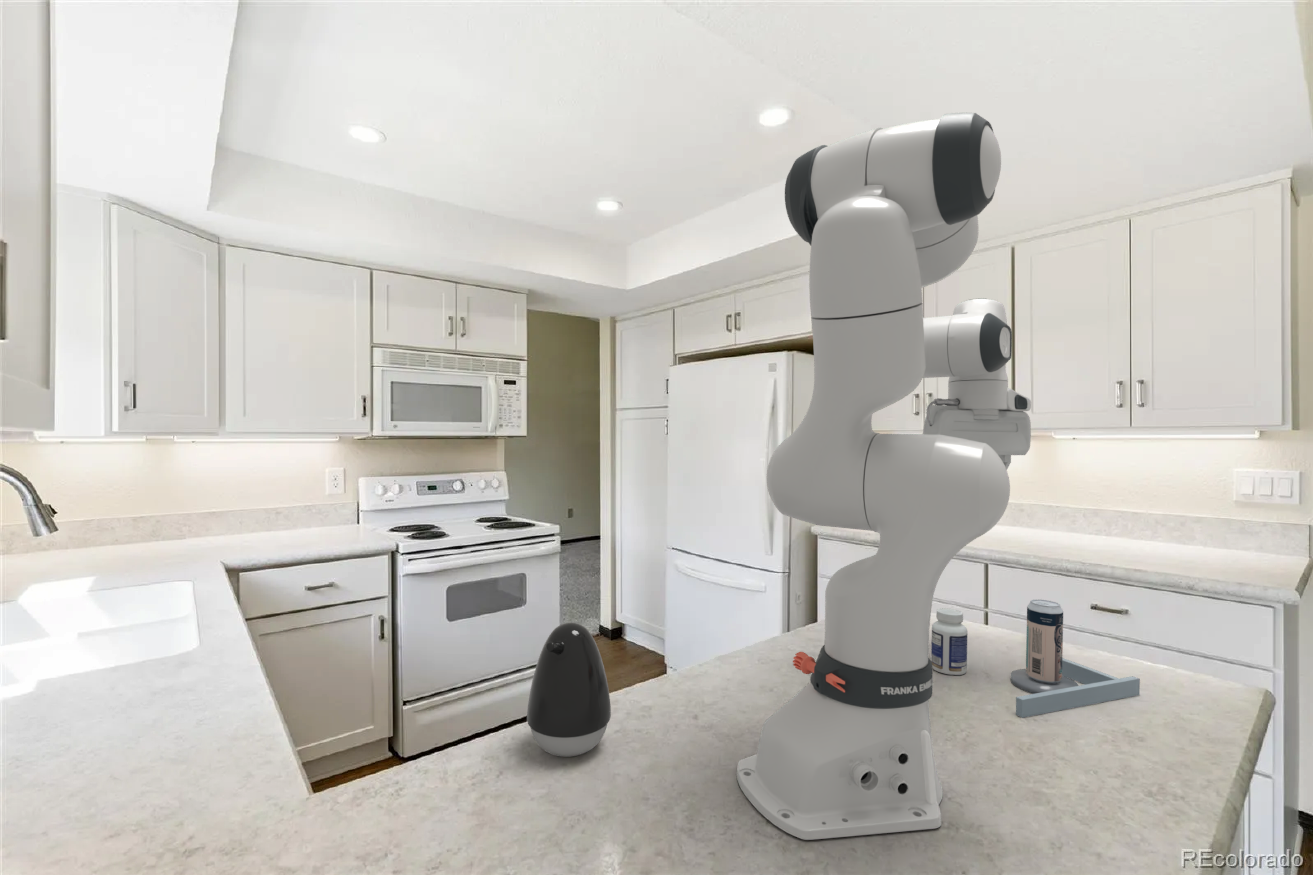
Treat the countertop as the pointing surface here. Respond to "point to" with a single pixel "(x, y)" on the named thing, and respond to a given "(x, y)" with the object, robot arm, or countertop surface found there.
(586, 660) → the black egg-shaped tumbler
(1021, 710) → the divider wall
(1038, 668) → the beer can
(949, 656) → the pill bottle
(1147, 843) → the countertop surface
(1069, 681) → the coaster
